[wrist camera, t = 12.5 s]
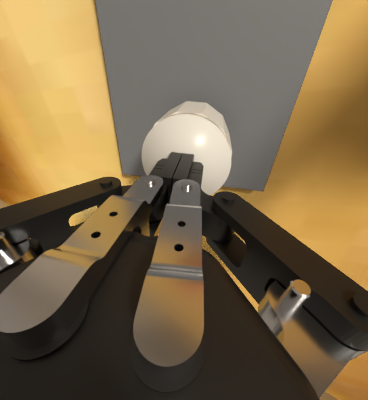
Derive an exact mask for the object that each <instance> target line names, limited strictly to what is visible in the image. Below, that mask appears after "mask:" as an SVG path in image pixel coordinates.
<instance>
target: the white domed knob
mask: <svg viewBox="0 0 368 400" xmlns="http://www.w3.org/2000/svg"><path fill="white" fill-rule="evenodd" d="M171 152H177V153H186V154H194V162H201V163H202V165H203V166H204V168H203V176H202V184H201V189H202V191H203V192H204V193H206V194H208V195H212V194H213V193H215V192H216V191H217V190H218V189H220V188H221V186H222V185H223V184H224V183H225V181H226V180H227V177H228V175H229V172H230V169H231V157H232V147H231V140H230V134H229V131H228V128H227V126H226V123H225V120H224V117H223V115H222V114H220V113H219V112H218V111H217V110H215V109H214V108H213V107H211V106H210V105H209V104H208V103H204V102H191V101H186V102H184V103H182V104H180V105H178V106H177V107H175V108H173V109H171V110H169V111H168V112H167V113H166V114H165V115H164V116H163V117H161V118H160V119H159V120H158V121H157V122H156V123H155V124H154V126H153V128H152V129H151V130H150V132H149V133H148V135H147V136H146V138H145V140H144V143H143V147H142V164H143V168H144V171H145V173H146V175H149V174H150V172H151V171H152V169H153V168H154V166H155V165H156V163H157V162H158V161H159V160H161V159H163V158H165V159H168V157H169V155H170V154H171Z"/></svg>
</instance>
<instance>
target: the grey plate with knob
mask: <svg viewBox="0 0 368 400" xmlns="http://www.w3.org/2000/svg"><path fill="white" fill-rule="evenodd" d="M332 1H333V0H95V2H96V9H97V15H98V21H99V27H100V34H101V40H102V46H103V53H104V59H105V65H106V71H107V78H108V84H109V90H110V97H111V103H112V109H113V115H114V122H115V128H116V134H117V140H118V147H119V153H120V159H121V166H122V172H123V174H127V175H135V176H146V173H145V171H144V168H143V164H142V147H143V143H144V140H145V138H146V136H147V135H148V133H149V132H150V130H151V129H152V128H153V126H154V124H155V123H156V122H157V121H158V120H159V119H160V118H161V117H163V116H164V115H165V114H166V113H167V112H168V111H169V110H171V109H173V108H175V107H177V106H178V105H180V104H182V103H184V102H186V101H191V102H204V103H208V104H209V105H210V106H211V107H213V108H214V109H215V110H217V111H218V112H219V113H220V114H222V115H223V117H224V120H225V123H226V126H227V128H228V131H229V134H230V140H231V147H232V157H231V169H230V172H229V175H228V177H227V180H226V181H225V183H224V184H223V185H222V186H223V187H231V188H239V189H247V190H255V191H264V188H265V185H266V182H267V180H268V177H269V174H270V171H271V169H272V166H273V163H274V160H275V158H276V155H277V152H278V149H279V147H280V144H281V141H282V138H283V136H284V133H285V130H286V127H287V125H288V122H289V119H290V116H291V114H292V111H293V108H294V105H295V103H296V100H297V97H298V94H299V92H300V89H301V86H302V83H303V81H304V78H305V75H306V72H307V70H308V67H309V64H310V61H311V59H312V56H313V53H314V51H315V48H316V45H317V42H318V40H319V37H320V34H321V31H322V29H323V26H324V23H325V20H326V18H327V15H328V12H329V9H330V7H331V4H332Z"/></svg>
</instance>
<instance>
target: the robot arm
mask: <svg viewBox="0 0 368 400" xmlns="http://www.w3.org/2000/svg"><path fill="white" fill-rule="evenodd" d="M203 168H204V166H203V165H202V163H201V162H194V154H186V153H177V152H171V154H170V155H169V157H168V159H165V158H163V159H161V160H159V161H158V162H157V163H156V165H155V166H154V168H153V169H152V171H151V172H150V174H149V175H146V176H142V177H140V178H139V179H138V180H137V181H136V182H135V183H134V184H133V185H130V186H121V181H120V180H119V179H118V178H115V177H103V178H99V179H96V180H93V181H90V182H86V183H83V184H80V185H76V186H73V187H70V188H67V189H63V190H60V191H57V192H54V193H50V194H47V195H44V196H41V197H37V198H34V199H31V200H27V201H24V202H21V203H18V204H14V205H11V206H8V207H5V208H1V209H0V400H320V399H319V398H320V397H321V396H322V394H323V393H324V392H325V391H326V389H327V388H328V387H329V386H330V384H331V383H332V382H333V381H334V379H335V378H336V377H337V376H338V374H339V373H340V372H341V371H342V369H343V368H344V367H345V365H346V364H347V363H348V362H349V361H350V360H352V359H354V358H356V357H357V356H359V355H361V354H363V353H365V352H367V351H368V291H367V290H365V289H364V288H363V287H361V286H360V285H359V284H357V283H356V282H355V281H353V280H352V279H350V278H349V277H348V276H346V275H345V274H344V273H342V272H341V271H340V270H338V269H337V268H336V267H334V266H333V265H332V264H330V263H329V262H327V261H326V260H325V259H323V258H322V257H321V256H319V255H318V254H317V253H315V252H314V251H313V250H311V249H310V248H309V247H307V246H306V245H305V244H303V243H302V242H300V241H299V240H298V239H296V238H295V237H294V236H292V235H291V234H290V233H288V232H287V231H286V230H284V229H283V228H282V227H280V226H279V225H278V224H276V223H275V222H273V221H272V220H271V219H269V218H268V217H267V216H265V215H264V214H263V213H261V212H260V211H259V210H257V209H256V208H255V207H253V206H252V205H251V204H249V203H248V202H246V201H245V200H244V199H242V198H241V197H240V196H238V195H237V194H234V193H231V192H218V193H216V194H215V195H214V197H213V196H210V195H208V194H206V193H204V192H203V191H202V189H201V184H202V176H203ZM96 205H97V208H98V209H97V210H96V211H95V212H94V213H93V214H92V215H91V216H90V217H89V218H88V219H87V220H86V221H85V222H82V223H80V224H78V225H75V226H70V225H69V222H68V221H69V218H70V217H71V216H72V215H73V214H75V213H78V212H80V211H83V210H85V209H88V208H91V207H93V206H96ZM234 232H236V233H237V234H238V235H239V236H240V237H241V238H242V239H243V240H244V241H245V243H246V244H245V243H244V242H243V241H242V240H240V239H239V238H238V237H237V236H236V235H235V234H234ZM158 233H159V235H158ZM202 235H203V236H205V237H206V241H207V243H208V244H209V246H210V247H211V248H212V249H213V250H214V251H215V253H216V254H217V255H218V256H219V257H220V259H221V260H222V261H223V262H224V263H225V265H226V266H227V267H228V268H229V269H230V271H231V272H232V273H233V274H234V275H235V277H236V278H237V279H238V280H239V281H240V282H241V284H242V285H243V286H244V287H245V288H246V290H247V291H248V292H249V293H250V294H251V296H252V297H253V298H254V299H255V300H256V302H257V303H258V304H259V306H258V312H257V311H256V310H255V308H254V307H253V306H252V304H251V303H250V302H249V301H248V299H247V298H246V297H245V295H244V294H243V293H242V291H241V290H240V289H239V287H238V286H237V285H236V284H235V282H234V281H233V280H232V278H231V277H230V276H229V274H228V273H227V272H226V270H225V269H224V268H223V267H222V265H221V264H220V263H219V262H218V260H217V259H216V258H215V257H214V256H212V255H211V254H210V253H208V252H207V251H205V250H203V249H202ZM29 238H31V239H29ZM258 313H259V314H258Z"/></svg>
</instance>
